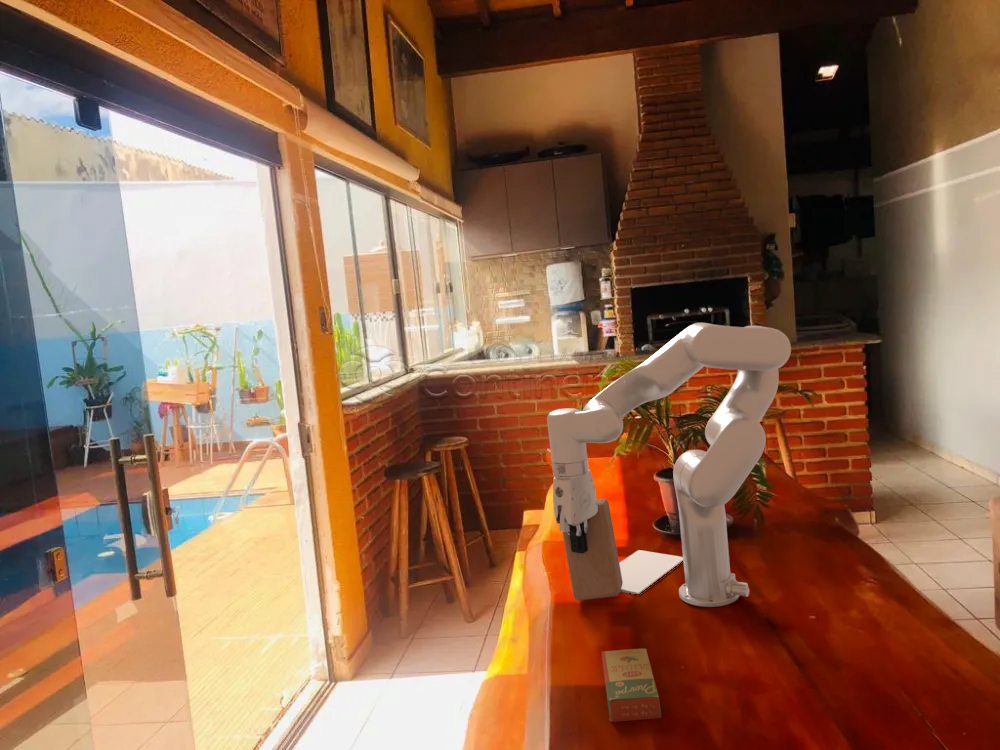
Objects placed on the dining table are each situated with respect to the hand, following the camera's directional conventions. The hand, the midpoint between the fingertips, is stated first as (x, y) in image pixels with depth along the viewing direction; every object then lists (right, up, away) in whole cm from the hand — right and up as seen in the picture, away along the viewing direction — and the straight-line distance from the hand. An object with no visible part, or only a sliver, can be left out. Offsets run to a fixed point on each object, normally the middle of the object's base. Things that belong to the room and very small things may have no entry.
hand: (579, 551), depth 161 cm
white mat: (+16, -9, +18) cm, 26 cm away
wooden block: (+5, -11, +6) cm, 13 cm away
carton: (+5, -17, -32) cm, 37 cm away
